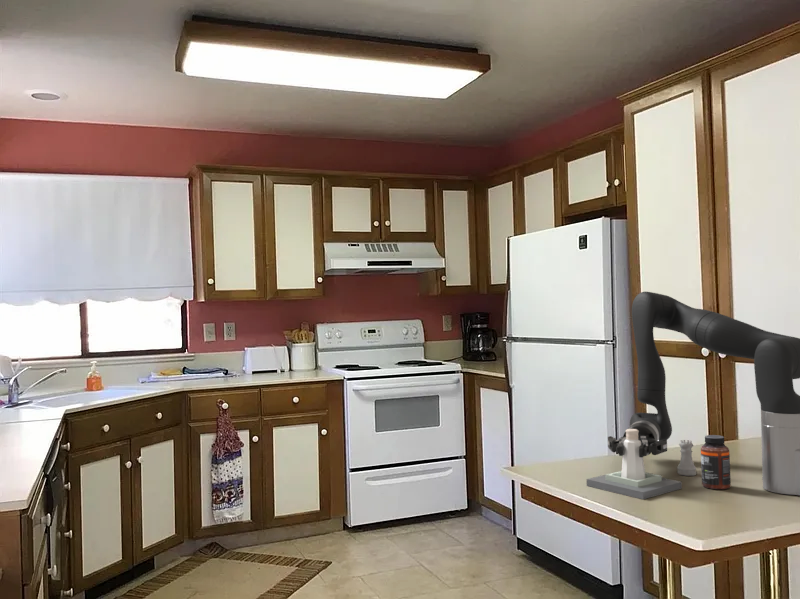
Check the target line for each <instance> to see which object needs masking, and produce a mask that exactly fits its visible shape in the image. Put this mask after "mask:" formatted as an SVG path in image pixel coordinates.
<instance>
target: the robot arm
mask: <svg viewBox="0 0 800 599" xmlns="http://www.w3.org/2000/svg"><path fill="white" fill-rule="evenodd" d="M631 322H632V328H633V329H632V330H633V335H634V343H635V344H634V345H635V351H636V357H637V358H636V359H637V396H636V397H637V400H638V402H640V403H641V404H645V405H649V406H652V407H654V408H655V409H656V411H657V413H655V412H654V413H653V412H652V413H651V412H636V413H633V414H632V415H631V417H630V418H629V427H628V428H627V429H637V430H638V431H639V432H638V440H640V441H641V446H640V447H639V457H643V458H644V457H647V456H649V455H653V456H656V455H660V454H664V453H666V452H668V440H669V438H670V437H671V436H672V434H673V433H672V432H673V426H672V423H671V418H670V416H669V412H668V407H667V401H666V382H667V380H666V379H667V378H666V370H665V366H664V364H663V361H662V358H661V357H660V354H659V351H658V348H657V346H656V343H655V339H654V338H655V336H654V328H657V329H663V330H670V331H674V332H676V333H681V334H683V335H685V336H686V337H687V338H688V339H689V340H690V341H691V342H692V343H693V344H695V345H697V346H699V347H701V348H703V349H706V350H709V351H711V352H714V353H718V354H721V355H725V356H731V357H736V358H743V359H750V360H753V366H754V378H755V391H756V396H757V398H758V401H759V404H760V428H761V429H760V430H761V466H762V467H761V469H762V470H761V471H762V474H761V476H762V479H761V480H762V489H763V490H766V491H769V492H772V493H774V494H775V493H776V494H782V495H796V496H800V394H798V393H797V391H795V389H794V380H799V379H800V337H796V336H792V335H791V336H790V335H785V334H780V333H776V332H772V331H768V330H765V329H761V328H758V327H756V326H753V325H752V324H749V323H747V322H744V321H741V320H738V319H736V318H732V317H730V316H728V315H724V314H721V313H718V312H715V311H712V310H707V309H702V308H696V307H695V308H694V307H692V306H689V305H687V304H685V303H683V302H681V301H679V300H677V299H676V298H673V297H671V296H669V295H666V294H663V293H658V292H652V291H641V292H639V293H638V294H637V295H636V296H635V297H634V299H633V301H632V305H631ZM625 440H627V439H626V430H625V431H624V433H623V436H621V437H619V438H618V439H617V438H616V437H614V436H607V447H608V449H609V450H610V451H611V452H613V453H616V454H618V455H619V457H623V455H624V441H625Z"/></svg>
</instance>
